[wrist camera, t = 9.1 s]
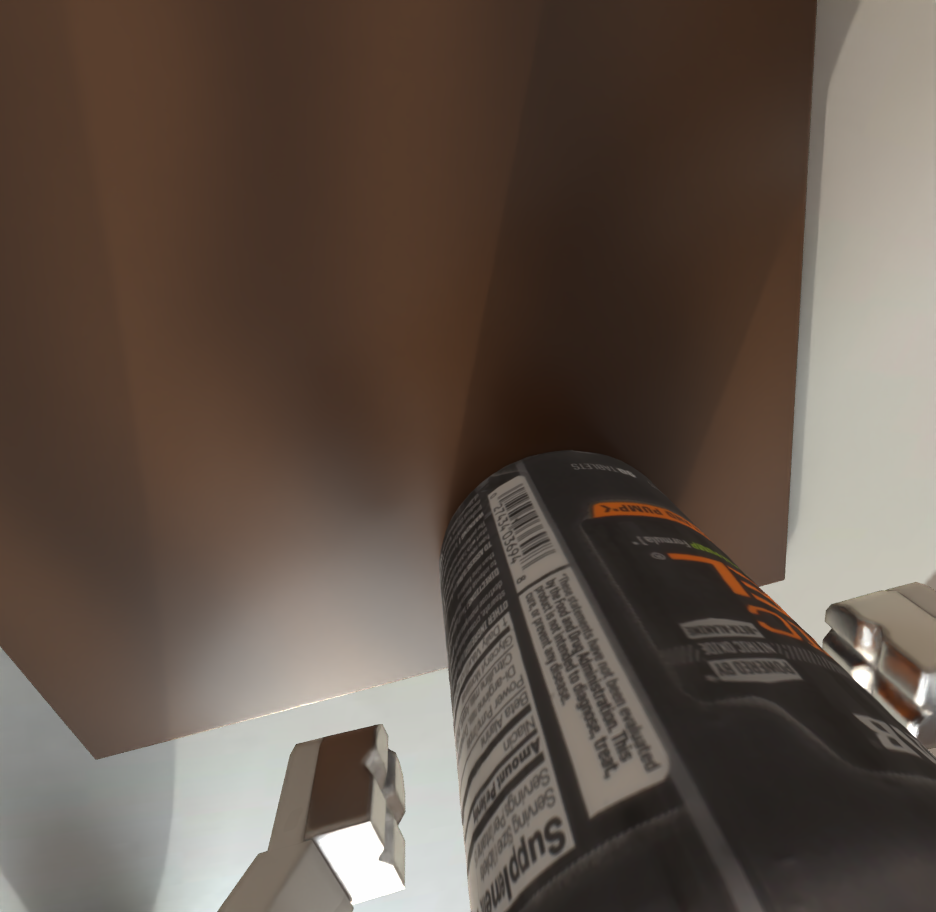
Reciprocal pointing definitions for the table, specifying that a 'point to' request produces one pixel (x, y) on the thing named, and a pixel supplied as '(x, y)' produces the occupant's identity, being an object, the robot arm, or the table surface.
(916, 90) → the table surface
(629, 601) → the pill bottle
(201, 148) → the walnut mat
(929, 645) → the robot arm
